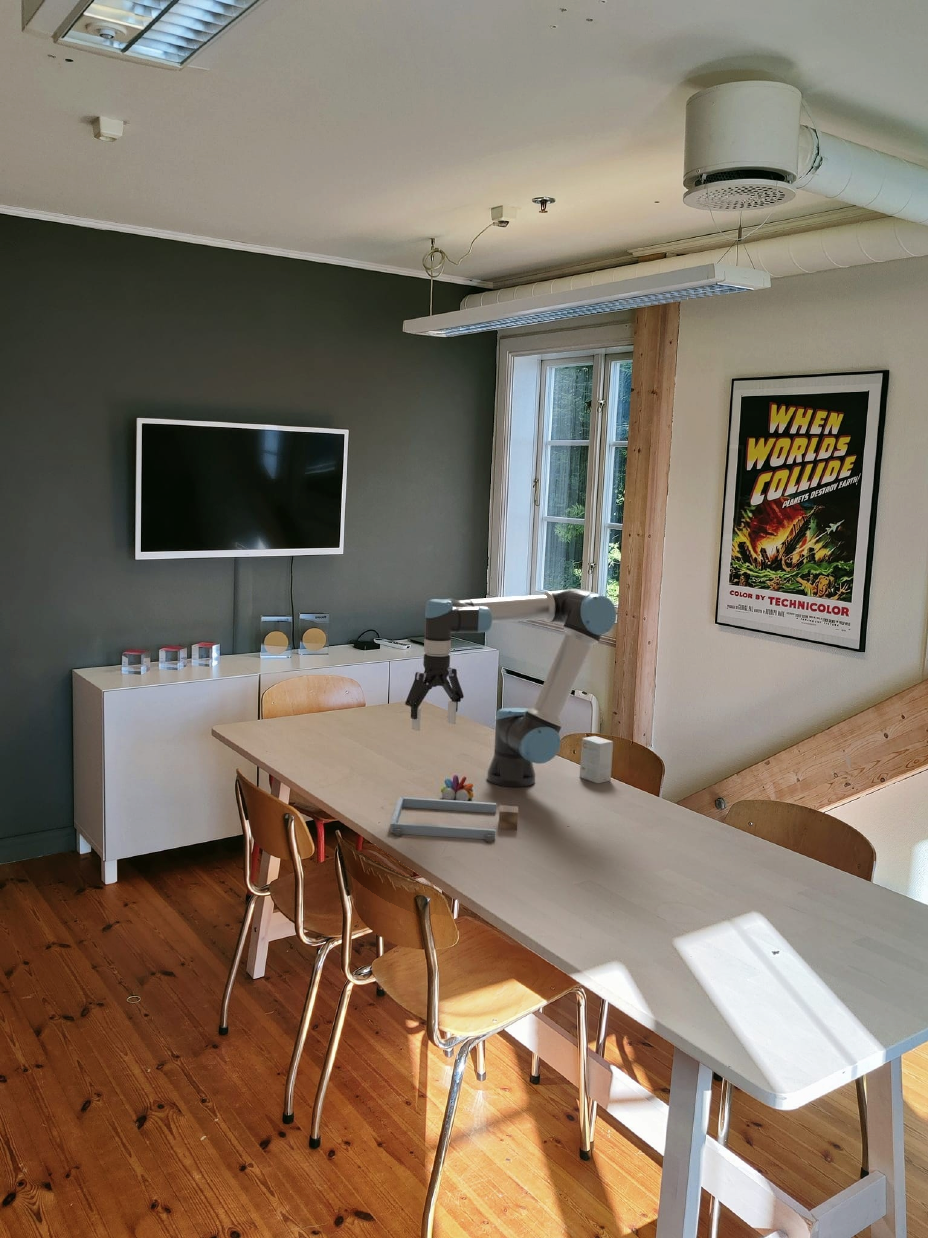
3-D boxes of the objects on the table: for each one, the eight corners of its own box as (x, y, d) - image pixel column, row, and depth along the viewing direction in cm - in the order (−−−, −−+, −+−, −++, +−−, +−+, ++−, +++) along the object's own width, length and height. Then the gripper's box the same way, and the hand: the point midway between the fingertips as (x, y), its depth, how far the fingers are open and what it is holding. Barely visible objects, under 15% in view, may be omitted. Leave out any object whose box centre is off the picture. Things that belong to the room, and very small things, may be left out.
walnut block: (516, 824, 279) (517, 806, 278) (517, 830, 274) (518, 812, 274) (498, 822, 279) (499, 805, 279) (498, 829, 274) (499, 811, 274)
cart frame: (496, 809, 290) (496, 800, 290) (494, 843, 264) (495, 833, 263) (399, 802, 291) (400, 794, 291) (388, 836, 265) (389, 826, 264)
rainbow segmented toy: (470, 805, 292) (471, 781, 291) (437, 802, 294) (438, 777, 293) (475, 796, 301) (477, 773, 299) (444, 793, 302) (445, 769, 301)
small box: (610, 780, 323) (613, 741, 321) (597, 784, 319) (600, 744, 317) (592, 774, 329) (595, 735, 327) (578, 777, 325) (581, 737, 323)
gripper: (460, 647, 298) (457, 717, 301) (394, 655, 281) (391, 729, 284) (477, 652, 293) (474, 723, 296) (411, 660, 276) (408, 735, 279)
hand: (433, 726), depth 290 cm, fingers open, 13 cm apart
